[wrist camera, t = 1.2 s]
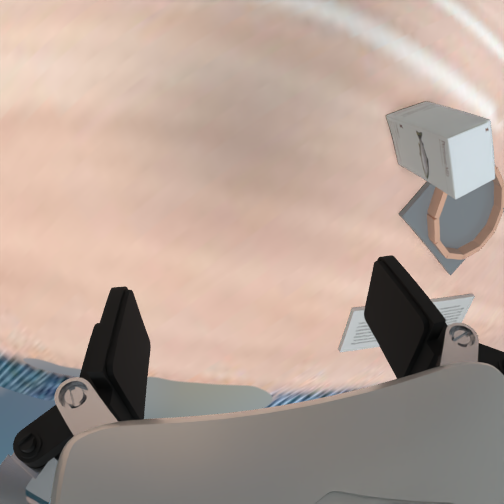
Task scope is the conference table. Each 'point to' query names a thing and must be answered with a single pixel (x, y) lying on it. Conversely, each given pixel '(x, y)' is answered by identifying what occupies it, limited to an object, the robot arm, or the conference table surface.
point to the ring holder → (455, 220)
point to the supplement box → (444, 146)
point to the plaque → (363, 338)
